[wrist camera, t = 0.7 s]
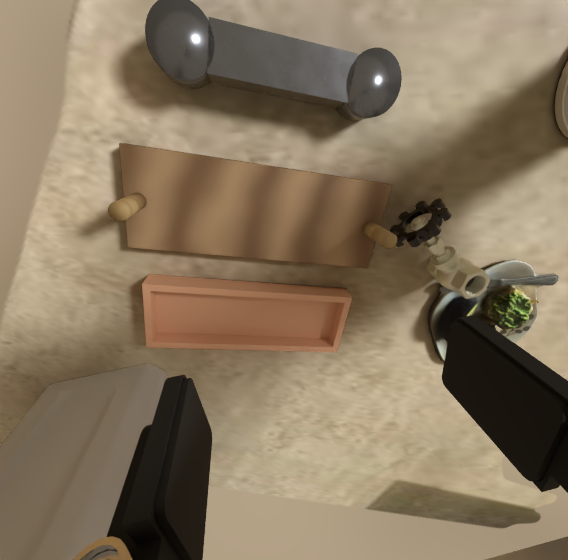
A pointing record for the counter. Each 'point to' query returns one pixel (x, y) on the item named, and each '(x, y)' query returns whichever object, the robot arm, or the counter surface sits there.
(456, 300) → the salad plate
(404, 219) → the valve
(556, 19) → the counter surface
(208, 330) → the slot holder
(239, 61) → the grey long knobbed bar
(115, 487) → the paper bag
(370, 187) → the board
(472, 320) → the robot arm
